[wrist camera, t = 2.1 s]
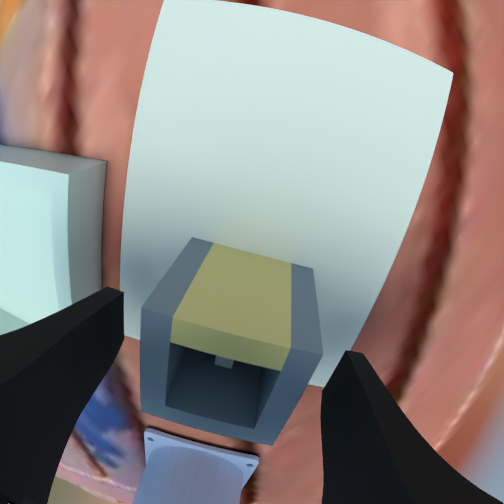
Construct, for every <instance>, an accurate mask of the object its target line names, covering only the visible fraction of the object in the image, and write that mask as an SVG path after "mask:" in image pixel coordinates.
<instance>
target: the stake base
mask: <svg viewBox="0 0 504 504" xmlns="http://www.w3.org/2000/svg"><path fill="white" fill-rule="evenodd" d="M452 77H453V73H452V72H451V71H449V70H447V69H445V68H443V67H441V66H439V65H437V64H435V63H433V62H431V61H429V60H427V59H425V58H423V57H421V56H419V55H416V54H414V53H412V52H410V51H408V50H405V49H403V48H401V47H398V46H396V45H393V44H391V43H388V42H386V41H383V40H381V39H378V38H376V37H373V36H370V35H367V34H365V33H362V32H359V31H356V30H353V29H350V28H347V27H344V26H340V25H337V24H334V23H330V22H327V21H323V20H320V19H316V18H312V17H308V16H304V15H300V14H296V13H291V12H287V11H282V10H277V9H272V8H266V7H261V6H254V5H248V4H241V3H233V2H225V1H215V0H164V2H163V6H162V9H161V12H160V15H159V19H158V22H157V26H156V29H155V33H154V37H153V40H152V44H151V48H150V52H149V56H148V60H147V64H146V68H145V73H144V77H143V82H142V87H141V91H140V96H139V102H138V107H137V112H136V118H135V124H134V130H133V136H132V142H131V149H130V156H129V164H128V172H127V180H126V189H125V199H124V210H123V223H122V238H121V259H120V291H122V292H124V335H126V336H129V337H132V338H134V339H137V340H140V327H141V307H142V305H143V304H144V303H145V301H146V300H147V298H148V297H149V296H150V294H151V293H152V291H153V290H154V289H155V287H156V286H157V284H158V283H159V282H160V280H161V279H162V277H163V276H164V275H165V273H166V272H167V271H168V269H169V268H170V266H171V265H172V264H173V262H174V261H175V260H176V258H177V257H178V256H179V254H180V253H181V252H182V250H183V249H184V248H185V246H186V245H187V244H188V242H189V241H190V240H191V238H192V237H194V238H197V239H201V240H205V241H209V242H213V243H217V244H220V245H224V246H228V247H232V248H236V249H239V250H243V251H247V252H251V253H255V254H259V255H262V256H266V257H270V258H274V259H278V260H282V261H285V262H289V263H293V264H297V265H301V266H305V267H308V268H312V269H313V273H314V281H315V288H316V296H317V304H318V313H319V321H320V330H321V339H322V349H323V356H322V358H321V360H320V362H319V364H318V366H317V368H316V370H315V372H314V373H313V375H312V377H311V379H310V381H309V383H308V384H309V385H315V386H320V387H325V385H326V384H327V382H328V380H329V379H330V377H331V375H332V373H333V372H334V370H335V368H336V366H337V365H338V363H339V361H340V359H341V357H342V356H343V354H344V352H345V350H348V351H350V350H351V348H352V346H353V344H354V342H355V341H356V339H357V337H358V335H359V333H360V331H361V329H362V327H363V325H364V323H365V321H366V319H367V317H368V315H369V313H370V311H371V309H372V307H373V305H374V303H375V301H376V299H377V297H378V295H379V293H380V291H381V289H382V286H383V284H384V282H385V280H386V278H387V275H388V273H389V271H390V269H391V266H392V264H393V262H394V260H395V257H396V255H397V252H398V250H399V248H400V245H401V243H402V240H403V238H404V235H405V233H406V230H407V228H408V225H409V223H410V220H411V217H412V215H413V212H414V209H415V207H416V204H417V201H418V198H419V196H420V193H421V190H422V187H423V184H424V181H425V178H426V175H427V172H428V169H429V166H430V162H431V159H432V156H433V153H434V149H435V146H436V142H437V139H438V135H439V132H440V128H441V124H442V120H443V117H444V113H445V109H446V104H447V100H448V96H449V91H450V87H451V82H452ZM233 362H234V360H232V359H228V358H225V357H221V356H217V355H216V359H215V363H214V364H215V365H218V366H222V367H226V368H230V369H232V365H233Z"/></svg>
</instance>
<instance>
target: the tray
mask: <svg viewBox="0 0 504 504" xmlns="http://www.w3.org/2000/svg"><path fill="white" fill-rule="evenodd" d="M106 167H107V161H102V160H97V159H91V158H86V157H80V156H74V155H68V154H62V153H56V152H49V151H43V150H36V149H29V148H22V147H15V146H7V145H0V335H2V334H5V333H8V332H11V331H14V330H17V329H19V328H22V327H25V326H27V325H30V324H32V323H34V322H36V321H38V320H41V319H43V318H45V317H47V316H49V315H52V314H54V313H56V312H58V311H60V310H62V309H64V308H66V307H68V306H70V305H72V304H74V303H76V302H78V301H80V300H82V299H84V298H86V297H88V296H90V295H91V294H93V293H95V292H97V291H99V290H102V280H101V250H102V219H103V202H104V188H105V177H106Z"/></svg>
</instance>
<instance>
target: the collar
mask: <svg viewBox="0 0 504 504" xmlns="http://www.w3.org/2000/svg"><path fill="white" fill-rule="evenodd" d="M216 355H217V356H221V357H225V358H228V359H232V360H234V362H233V365H232V369H230V368H226V367H222V366H218V365H215V364H214V363H215V359H216ZM322 356H323V349H322V339H321V330H320V321H319V313H318V304H317V296H316V288H315V281H314V273H313V269H312V268H308V267H305V266H301V265H297V264H293V263H289V262H285V261H282V260H278V259H274V258H270V257H266V256H262V255H259V254H255V253H251V252H247V251H243V250H239V249H236V248H232V247H228V246H224V245H220V244H217V243H213V242H209V241H205V240H201V239H197V238H194V237H192V238H191V240H190V241H189V242H188V244H187V245H186V246H185V248H184V249H183V250H182V252H181V253H180V254H179V256H178V257H177V258H176V260H175V261H174V262H173V264H172V265H171V266H170V268H169V269H168V271H167V272H166V273H165V275H164V276H163V277H162V279H161V280H160V282H159V283H158V284H157V286H156V287H155V289H154V290H153V291H152V293H151V294H150V296H149V297H148V298H147V300H146V301H145V303H144V304H143V305H142V307H141V327H140V395H141V411H142V412H145V413H148V414H151V415H153V416H156V417H160V418H163V419H166V420H169V421H172V422H175V423H179V424H182V425H185V426H189V427H192V428H196V429H200V430H203V431H207V432H211V433H215V434H219V435H223V436H228V437H232V438H236V439H241V440H246V441H251V442H256V443H261V444H267V445H273V444H274V442H275V440H276V439H277V437H278V435H279V434H280V432H281V430H282V429H283V427H284V425H285V424H286V422H287V420H288V419H289V417H290V415H291V413H292V412H293V410H294V408H295V406H296V405H297V403H298V401H299V399H300V397H301V396H302V394H303V392H304V390H305V388H306V387H307V385H308V383H309V381H310V379H311V377H312V375H313V373H314V372H315V370H316V368H317V366H318V364H319V362H320V360H321V358H322Z"/></svg>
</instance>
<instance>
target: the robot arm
mask: <svg viewBox="0 0 504 504" xmlns="http://www.w3.org/2000/svg"><path fill="white" fill-rule="evenodd" d="M123 341H124V292H122V291H119V290H116V289H113V288H110V287H106V288H104V289H102V290H99V291H97V292H95V293H93V294H91V295H90V296H88V297H86V298H84V299H82V300H80V301H78V302H76V303H74V304H72V305H70V306H68V307H66V308H64V309H62V310H60V311H58V312H56V313H54V314H52V315H49V316H47V317H45V318H43V319H41V320H38V321H36V322H34V323H32V324H30V325H27V326H25V327H22V328H19V329H17V330H14V331H11V332H8V333H5V334H2V335H0V504H8V503H9V504H47V502H48V498H49V494H50V490H51V486H52V483H53V480H54V477H55V474H56V471H57V468H58V465H59V462H60V459H61V457H62V454H63V452H64V449H65V447H66V444H67V442H68V439H69V437H70V435H71V433H72V430H73V428H74V426H75V424H76V422H77V420H78V418H79V416H80V414H81V412H82V411H83V409H84V407H85V406H86V404H87V403H88V401H89V400H90V398H91V396H92V395H93V393H94V392H95V390H96V389H97V387H98V385H99V384H100V382H101V381H102V379H103V378H104V376H105V375H106V373H107V372H108V370H109V368H110V367H111V365H112V364H113V362H114V360H115V358H116V356H117V354H118V352H119V349H120V347H121V345H122V343H123ZM321 435H322V452H323V471H324V486H323V497H322V504H503V503H502V502H501V501H499V500H497V499H496V498H494V497H492V496H491V495H489V494H487V493H486V492H484V491H482V490H481V489H479V488H478V487H477V486H475V485H474V484H472V483H471V482H470V481H468V480H467V479H466V478H464V477H463V476H462V475H461V474H460V473H458V472H457V471H456V470H455V469H454V468H453V467H451V466H450V465H449V464H448V463H447V462H446V461H445V460H444V459H443V458H442V457H441V456H440V455H439V454H438V453H437V452H436V451H435V450H434V449H433V448H432V447H431V446H430V445H429V444H428V442H427V441H426V440H425V439H424V438H423V437H422V436H421V435H420V433H419V432H418V431H417V430H416V429H415V427H414V426H413V425H412V423H411V422H410V421H409V419H408V418H407V417H406V416H405V414H404V413H403V412H402V410H401V409H400V407H399V406H398V405H397V403H396V402H395V400H394V399H393V397H392V396H391V394H390V393H389V391H388V390H387V388H386V387H385V385H384V384H383V382H382V381H381V379H380V378H379V376H378V375H377V373H376V372H375V370H374V369H373V367H372V366H371V364H370V363H369V361H368V360H367V359H366V357H365V356H364V354H363V353H359V352H353V351H348V350H345V352H344V354H343V356H342V357H341V359H340V361H339V363H338V365H337V366H336V368H335V370H334V372H333V373H332V375H331V377H330V379H329V380H328V382H327V384H326V385H325V387H324V389H323V390H322V401H321ZM144 442H145V457H146V467H145V470H144V472H143V475H142V478H141V481H140V483H139V486H138V489H137V491H136V494H135V497H134V500H133V502H132V504H239V502H240V495H241V490H242V488H243V487H244V485H245V484H246V482H247V481H248V479H249V478H250V476H251V475H252V473H253V472H254V470H255V469H256V467H257V466H258V464H259V457H257V456H255V455H250V454H245V453H240V452H235V451H231V450H226V449H222V448H217V447H213V446H209V445H205V444H202V443H198V442H194V441H190V440H187V439H183V438H180V437H177V436H173V435H170V434H167V433H164V432H161V431H158V430H155V429H151V428H147V429H146V430H145V432H144Z"/></svg>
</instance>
